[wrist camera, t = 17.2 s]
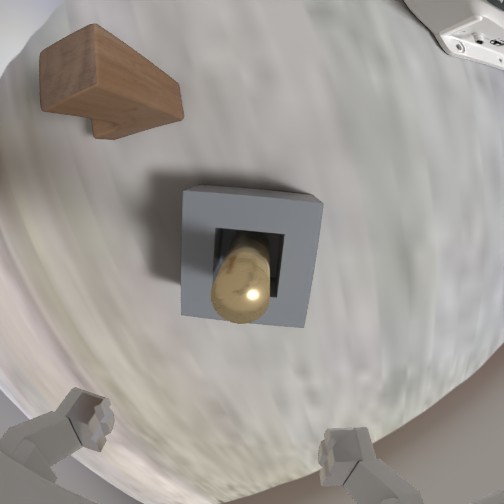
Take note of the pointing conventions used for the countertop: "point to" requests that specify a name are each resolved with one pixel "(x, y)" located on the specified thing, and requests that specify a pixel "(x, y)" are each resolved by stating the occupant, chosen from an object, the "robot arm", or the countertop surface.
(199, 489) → the countertop surface
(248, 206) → the hole holder
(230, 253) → the brass pin
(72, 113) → the wooden block
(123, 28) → the countertop surface
